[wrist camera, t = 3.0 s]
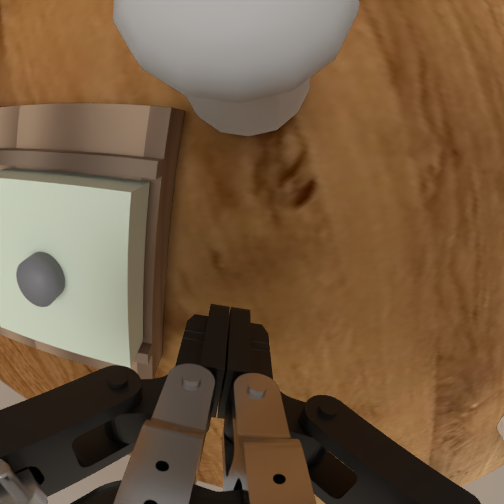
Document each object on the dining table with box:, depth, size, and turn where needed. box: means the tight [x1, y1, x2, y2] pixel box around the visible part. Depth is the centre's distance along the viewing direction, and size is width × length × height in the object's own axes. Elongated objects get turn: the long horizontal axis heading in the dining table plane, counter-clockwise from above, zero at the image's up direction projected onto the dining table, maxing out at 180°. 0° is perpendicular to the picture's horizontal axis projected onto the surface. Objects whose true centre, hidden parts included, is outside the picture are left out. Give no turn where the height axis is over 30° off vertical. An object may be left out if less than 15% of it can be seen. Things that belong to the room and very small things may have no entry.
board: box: [0, 103, 185, 379], centre depth 16 cm, size 20×16×4 cm
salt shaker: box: [113, 0, 360, 136], centre depth 9 cm, size 6×6×13 cm
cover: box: [0, 168, 150, 368], centre depth 14 cm, size 9×9×4 cm
